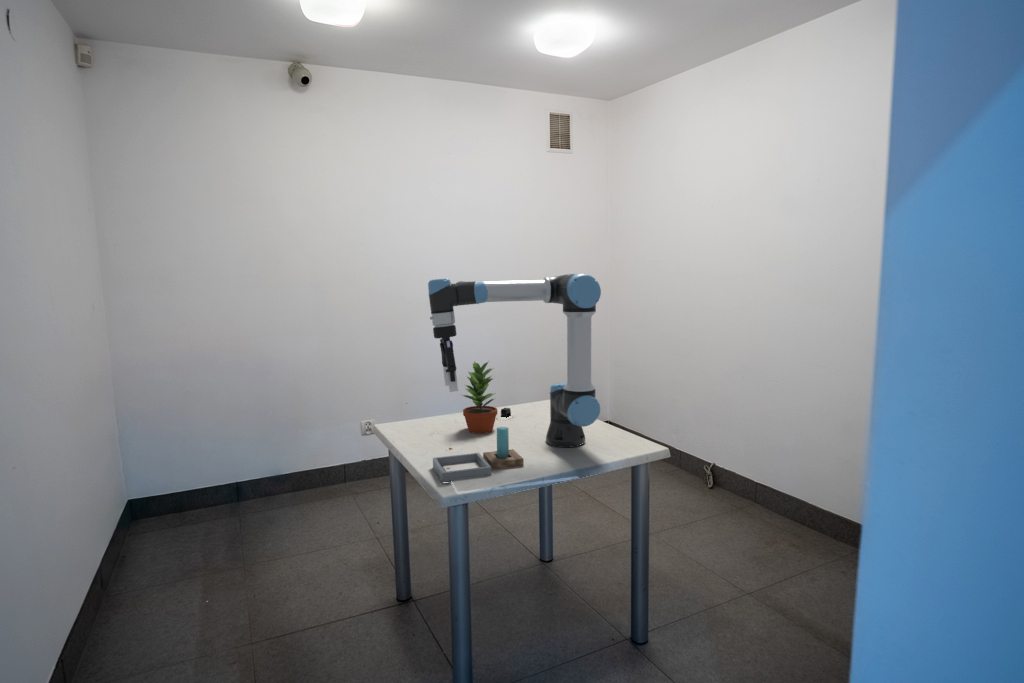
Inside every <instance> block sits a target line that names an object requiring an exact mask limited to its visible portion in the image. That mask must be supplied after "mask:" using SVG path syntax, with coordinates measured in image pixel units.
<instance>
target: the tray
mask: <svg viewBox="0 0 1024 683" xmlns="http://www.w3.org/2000/svg"><path fill="white" fill-rule="evenodd" d="M470 462H477V463H478V464H479V466H480V467H474V468H464V469H457V470H455V469H454V470H448V471H447V470H446V469H445V467H444V466H445V465H453V464H463V463H470ZM433 468H434V469H435V470H434V469H433ZM432 469H433V470H434V472H435V471H436V472H435V474H436V473H437V474H438V476H439V477H438V476H437V477H438V479H439V478H440V479H441V481H442V482H451V481H453V480H460V479H461V480H462V479H469V478H478V477H484V476H485V477H486V476H491V475H492V469H491V466H490V465H489V464H488V463H487V462H486V461H485V459H484V458H483V455H481V454H480V452H473V453H465V454H462V453H461V454H455V455H454V454H453V455H446V456H437V457H432ZM437 474H436V475H437ZM440 479H439V480H440ZM441 481H440V482H441Z"/></svg>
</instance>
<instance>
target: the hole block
mask: <svg viewBox="0 0 1024 683" xmlns="http://www.w3.org/2000/svg"><path fill="white" fill-rule="evenodd" d="M482 457H483V458H484V459H485V461H486V462H487V463H488V464H489V465H490V466H491V471H493V470H495V471H496V470H502V469H503V470H504V469H509V468H517V467H525V466H524V457H522V456H521V455H520V454H519V453H518V452H517V451H516V450H514V449H513V448H512V449H509V457H507V458H499V459H498V458H497V450H495V451H493V450H492V451H486V452H483V453H482Z"/></svg>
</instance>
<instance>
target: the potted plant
mask: <svg viewBox="0 0 1024 683" xmlns="http://www.w3.org/2000/svg"><path fill="white" fill-rule="evenodd" d="M489 362H490V360H488V361H487V362H485V363H483V364H482V365H480V363H477V362H476V361H473V363H472V368H473V372H471V371H469V370H468V374H469V375H470V377H469V376H466V377H467V379H468V380H469V382H470V384H471V386H470V385H466V384H464V386H465V387H464V389H465V390H466V391H467V392H469V393H470V394H471V395H468V394H464V395H463V394H461V396H463V397H465V398H466V399H467V398H468V399H470V400H472V403H474V405H472V406H467V407H465V408H463V410H462V415H463V417H464V419H465V422H466V427H467V429H468V432H469V431H470V432H469V433H471V432H473V434H487V433H486V432H488V433H491V432H493V430H494V426H495V422H496V419H497V415H498V408H497V406H489V405H488V404H490V403H491V402H493V401H494V400H495V398H491V397H492V396H494V395H495V394H496V392H494V393H487V394H485V391H487V389H488V387H489V386H490V385H489V383H490V382H491V381H492V380H494V379H495V377H493V378H491V377H492V375H490V376H488V377H486V376H487V375H488V374H489V373H490V372H491V371H493V368H488V369H486V367H487V365H488V363H489ZM466 387H467V388H466ZM484 394H485V395H484ZM489 398H491V399H490V400H488V401H486V400H487V399H489ZM484 401H486V402H485V403H483V402H484ZM490 431H491V432H490Z"/></svg>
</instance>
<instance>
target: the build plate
mask: <svg viewBox="0 0 1024 683" xmlns="http://www.w3.org/2000/svg"><path fill="white" fill-rule="evenodd" d="M511 415H512V412H511V407H504V408H501V409H500V417H506V418H507V417H509V416H511Z"/></svg>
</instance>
